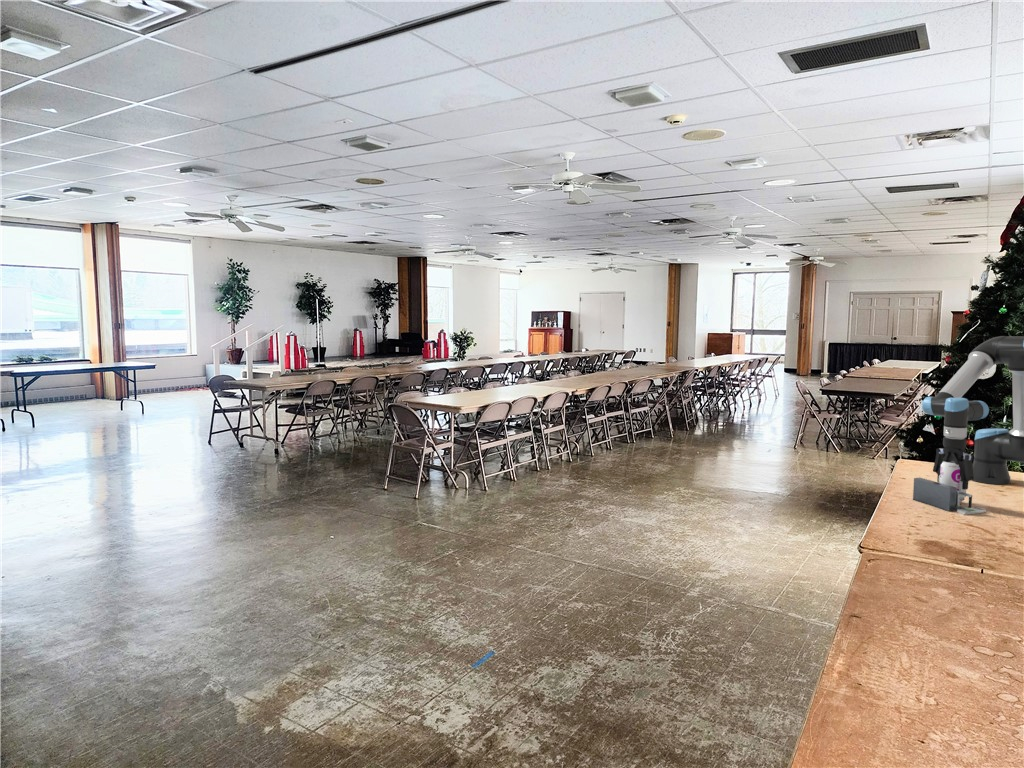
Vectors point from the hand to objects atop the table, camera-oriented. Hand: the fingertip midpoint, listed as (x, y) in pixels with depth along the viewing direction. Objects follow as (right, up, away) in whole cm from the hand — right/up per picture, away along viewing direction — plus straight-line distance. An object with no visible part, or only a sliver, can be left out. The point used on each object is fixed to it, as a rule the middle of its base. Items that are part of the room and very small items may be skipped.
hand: (951, 493), depth 253 cm
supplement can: (0, -3, 0) cm, 3 cm away
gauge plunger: (-4, -3, -3) cm, 6 cm away
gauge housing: (-4, -4, -3) cm, 6 cm away
